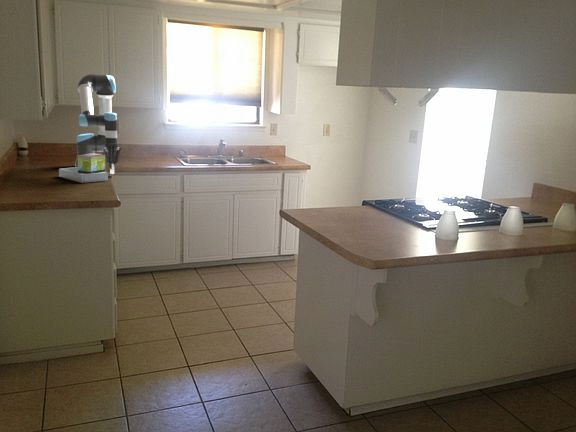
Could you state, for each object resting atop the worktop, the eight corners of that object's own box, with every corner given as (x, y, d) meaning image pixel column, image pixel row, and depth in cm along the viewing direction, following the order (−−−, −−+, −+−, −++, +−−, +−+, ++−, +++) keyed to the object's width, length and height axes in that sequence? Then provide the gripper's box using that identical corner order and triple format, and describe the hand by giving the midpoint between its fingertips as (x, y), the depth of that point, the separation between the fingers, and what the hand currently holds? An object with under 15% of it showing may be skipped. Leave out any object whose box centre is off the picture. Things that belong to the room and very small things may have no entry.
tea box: (91, 180, 323) (90, 156, 320) (77, 178, 325) (76, 154, 322) (106, 177, 337) (105, 154, 334) (92, 175, 340) (91, 152, 336)
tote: (84, 174, 343) (84, 166, 342) (108, 180, 324) (107, 172, 323) (59, 176, 330) (58, 168, 329) (82, 183, 312) (82, 174, 311)
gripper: (116, 136, 344) (117, 172, 349) (98, 137, 334) (99, 173, 339) (123, 137, 339) (124, 173, 344) (105, 138, 329) (106, 175, 334)
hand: (112, 173), depth 341 cm, fingers closed
